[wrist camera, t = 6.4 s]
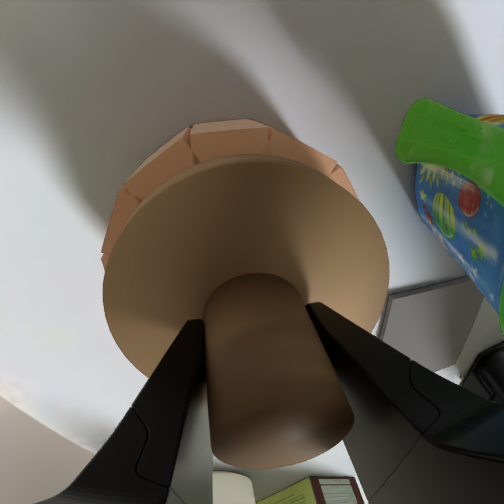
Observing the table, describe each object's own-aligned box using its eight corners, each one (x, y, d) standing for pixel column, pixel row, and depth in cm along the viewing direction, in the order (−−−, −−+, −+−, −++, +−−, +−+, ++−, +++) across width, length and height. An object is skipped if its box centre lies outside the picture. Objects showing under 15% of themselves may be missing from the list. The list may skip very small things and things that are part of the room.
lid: (382, 148, 8) (524, 213, 4) (355, 358, 12) (407, 460, 8) (81, 178, 7) (-33, 282, 3) (151, 388, 11) (145, 507, 7)
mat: (487, 271, 20) (491, 274, 19) (452, 360, 24) (455, 363, 24) (389, 295, 19) (392, 299, 18) (364, 391, 23) (366, 395, 23)
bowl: (325, 116, 13) (374, 126, 9) (321, 291, 18) (352, 344, 14) (113, 137, 12) (76, 155, 8) (153, 313, 17) (143, 374, 13)
